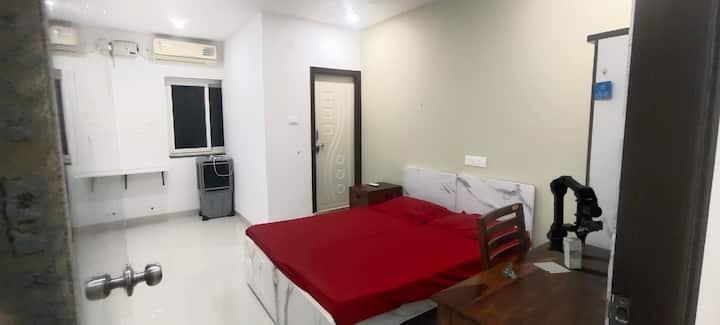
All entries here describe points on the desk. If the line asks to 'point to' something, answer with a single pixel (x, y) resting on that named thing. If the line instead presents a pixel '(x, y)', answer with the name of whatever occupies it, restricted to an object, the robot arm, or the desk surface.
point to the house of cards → (509, 271)
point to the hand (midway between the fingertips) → (581, 243)
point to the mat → (552, 267)
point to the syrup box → (572, 252)
